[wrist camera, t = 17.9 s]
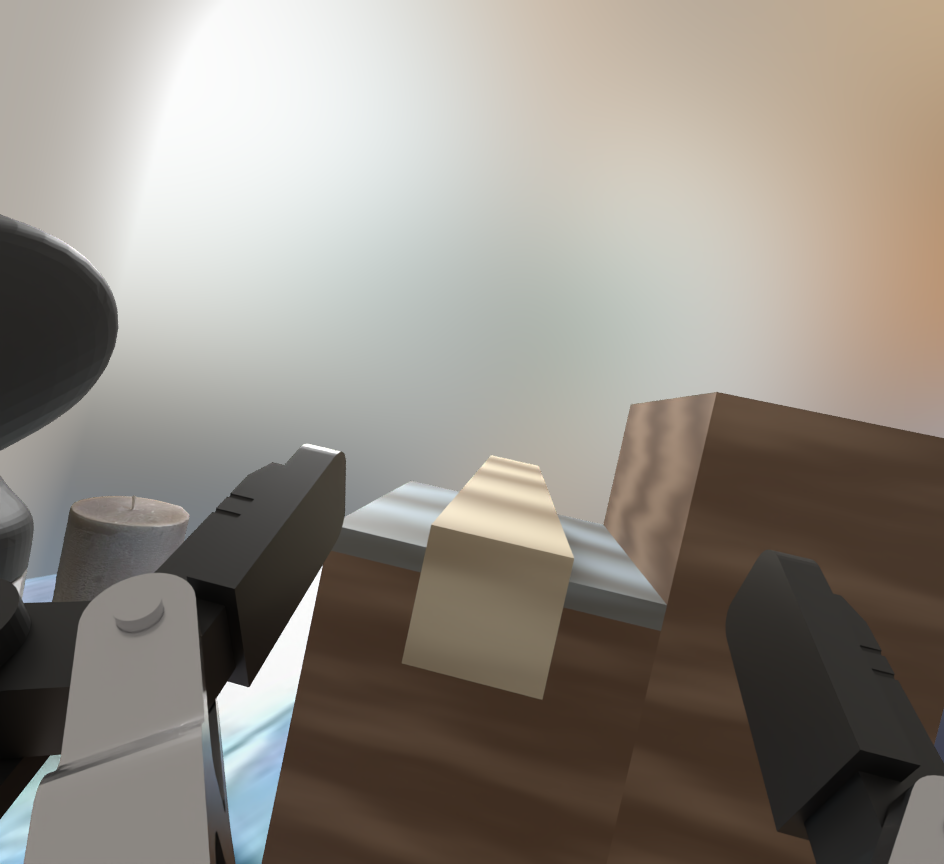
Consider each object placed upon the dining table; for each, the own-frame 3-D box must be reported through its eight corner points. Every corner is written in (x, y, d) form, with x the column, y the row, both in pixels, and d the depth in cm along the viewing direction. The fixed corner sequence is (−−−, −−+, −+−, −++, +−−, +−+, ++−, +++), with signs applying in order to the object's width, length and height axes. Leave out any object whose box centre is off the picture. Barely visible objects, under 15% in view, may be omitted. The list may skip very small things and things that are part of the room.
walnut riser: (792, 1294, 20) (1009, 451, 18) (213, 1095, 22) (372, 322, 20) (674, 915, 34) (789, 437, 33) (339, 819, 36) (435, 363, 35)
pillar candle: (14, 649, 47) (44, 487, 46) (116, 615, 56) (143, 479, 56) (92, 690, 44) (126, 517, 44) (186, 647, 54) (216, 504, 53)
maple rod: (542, 699, 11) (574, 558, 11) (401, 662, 11) (431, 524, 11) (528, 513, 33) (538, 465, 33) (480, 502, 33) (491, 455, 33)
